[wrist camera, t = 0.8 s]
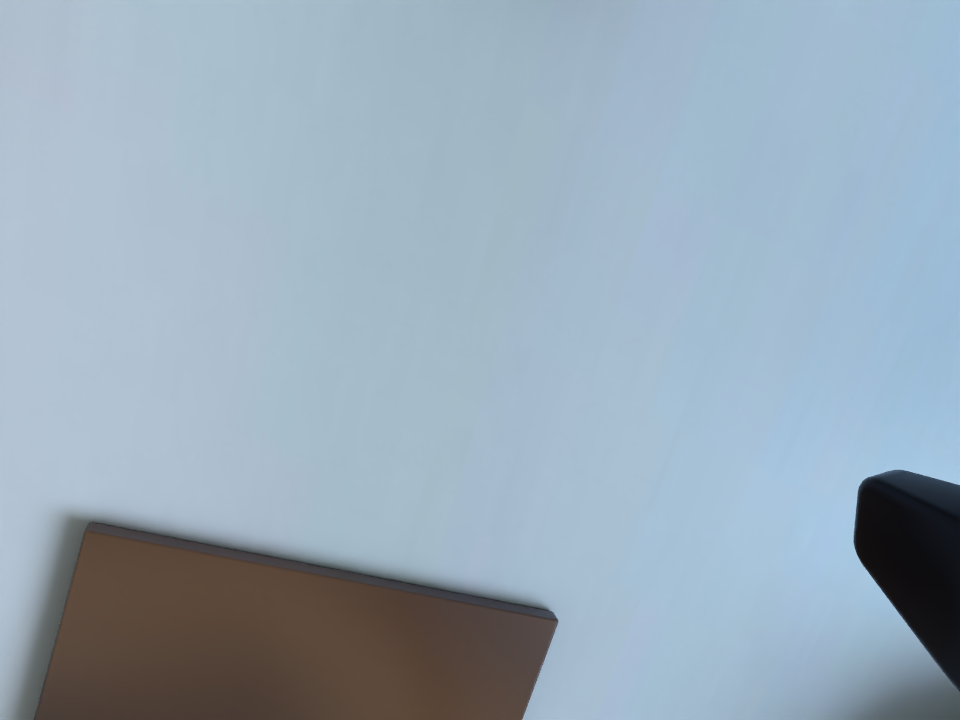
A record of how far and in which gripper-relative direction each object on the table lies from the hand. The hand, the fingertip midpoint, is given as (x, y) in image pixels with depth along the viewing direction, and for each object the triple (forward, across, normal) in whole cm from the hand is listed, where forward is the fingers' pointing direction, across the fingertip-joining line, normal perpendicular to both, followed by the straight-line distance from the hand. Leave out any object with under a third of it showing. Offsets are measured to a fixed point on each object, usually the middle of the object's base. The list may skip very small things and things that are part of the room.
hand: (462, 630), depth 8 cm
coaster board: (+12, +5, +15) cm, 20 cm away
